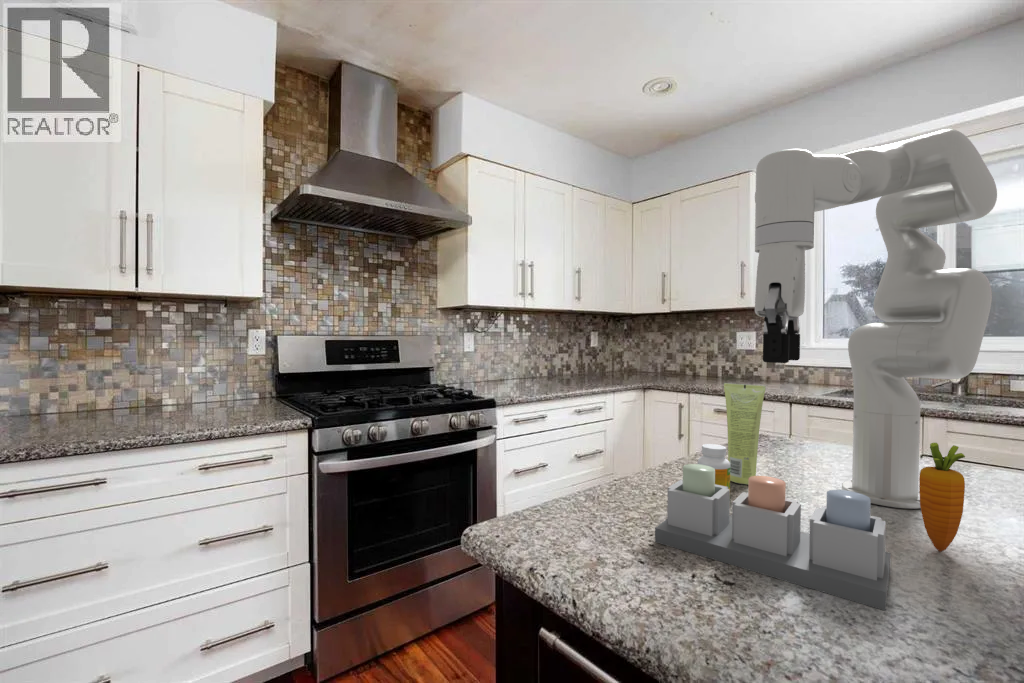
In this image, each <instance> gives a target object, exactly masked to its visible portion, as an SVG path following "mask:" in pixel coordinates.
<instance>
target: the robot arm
mask: <svg viewBox="0 0 1024 683" xmlns="http://www.w3.org/2000/svg"><path fill="white" fill-rule="evenodd" d="M878 198H879V199H878ZM997 198H998V189H997V185H996V182H995V178H994V177H993V176H992V173H991V172H990V170H989V167H988V166H987V165H986V163H985V161H984V160H983V158H982V156H981V154H980V152H979V151H978V149H977V148H976V146H975V145H974V144H973V142H972V141H971V140H970V139H969V138H968V137H967V136H966V135H965V134H964V133H962V132H961V131H959V130H957V129H953V128H948V129H947V128H946V129H941V130H938V131H935V132H931V133H928V134H923V135H920V136H916V137H912V138H910V139H906V140H901V141H898V142H894V143H889V144H884V145H881V146H874V147H869V148H862V149H861V148H860V149H858V150H854V151H850V152H846V153H843V154H840V155H839V154H837V155H836V154H813V153H812V152H811V151H809V150H807V149H802V148H790V149H782V150H778V151H775V152H771V153H769V154H767V155H765V156H763V157H762V158H761V159H760V160H759V161H758V163H757V164H756V169H755V192H754V203H755V209H754V210H755V215H754V216H755V219H754V220H755V224H754V226H755V227H754V229H755V230H754V252H755V253H757V254H758V259H757V266H756V268H757V269H756V280H755V297H754V313H755V315H756V316H758V317H761V318H762V317H763V321H764V322H763V323H764V324H763V335H762V362H764V363H770V364H771V363H772V364H773V363H774V364H787V363H789V362H790V361H799V360H800V359H801V358H800V357H801V333H800V328H801V327H800V320H799V318H800V317H801V316H802V315H804V311H805V302H806V300H805V298H806V251H808V250H811V249H814V247H815V244H814V243H815V212H821V211H826V210H830V209H835V208H839V207H843V206H849V205H855V204H857V203H862V202H868V201H870V200H874V199H878V201H877V203H876V207H875V215H876V222H877V225H878V228H879V231H880V234H881V237H882V240H883V241H884V245H885V247H886V252H887V258H886V262H885V265H884V268H883V271H882V275H881V277H880V281H879V283H878V287H877V290H876V292H875V296H874V299H873V311H874V314H875V316H876V317H877V319H879V320H881V322H880V321H879V322H872V323H867V324H864V325H860V326H859V327H857V328H855V330H854V331H852V332H851V334H850V336H849V338H848V343H847V351H848V356H849V361H850V362H849V363H850V367H851V372H852V373H851V375H852V384H853V414H852V415H853V419H852V420H853V423H852V424H853V426H852V463H851V464H852V469H851V470H852V471H851V472H852V475H851V480H850V479H849V480H845V481H844V482H842V483H841V490H846V491H852V492H856V493H860V494H863V495H866V496H868V497H869V498H870V499H871V504H873V505H877V506H878V505H879V506H883V507H888V508H894V509H895V508H897V509H906V510H907V509H909V510H910V509H912V510H913V509H915V510H916V509H921V507H920V491H919V477H920V448H921V447H920V441H921V437H920V435H921V403H920V399H919V395H917V393H916V392H915V390H914V389H913V387H912V386H911V385H910V383H909V382H908V381H907V380H906V379H905V378H921V379H935V380H938V379H939V380H960V379H962V378H965V377H967V376H969V374H971V373H972V371H973V370H974V368H975V366H976V364H977V361H978V358H979V354H980V351H981V347H982V343H983V338H984V334H985V332H986V327H987V324H988V320H989V317H990V312H991V307H992V300H993V298H992V297H993V294H992V290H993V289H992V286H991V282H990V280H989V279H988V277H987V276H986V275H985V273H984V272H982V271H980V270H978V269H975V268H974V269H973V268H967V267H966V268H965V267H964V268H963V267H959V268H957V267H956V268H947V269H945V268H944V267H945V263H946V260H947V259H946V252H945V250H944V249H943V248H942V247H941V245H940V244H938V243H937V241H935V240H934V239H932V238H931V237H930V236H928V235H926V234H925V233H923V232H922V230H921V229H922V228H923V229H925V228H929V227H937V226H943V225H944V226H945V225H951V224H957V223H963V222H970V221H971V222H972V221H975V220H978V219H981V218H984V217H985V216H987V215H988V214H990V212H992V210H993V209H994V207H995V205H996V203H997Z"/></svg>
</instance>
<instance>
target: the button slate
mask: <svg viewBox="0 0 1024 683" xmlns="http://www.w3.org/2000/svg"><path fill="white" fill-rule="evenodd" d="M871 504H872V503H871V499H870V498H869V497H868V496H866V495H863V494H860V493H856V492H852V491H846V490H842V489H829V490H827V491H826V523H831V524H835V525H840V526H845V527H849V528H854V529H858V530H863V531H867V532H870V516H871Z"/></svg>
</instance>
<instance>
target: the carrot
mask: <svg viewBox="0 0 1024 683" xmlns="http://www.w3.org/2000/svg"><path fill="white" fill-rule="evenodd" d="M929 446H930V447H929V449H930V452H931V453H930V454H931V456H932V460H933V462H934V465H935V466H924V467H922V468H921V469H920V470H919V491H920V507H921V508H920V512H921V516H922V520H923V525H924V529H925V530H926V533H927V536H928V539H929V540H930V541H931V544H932V545H933V547H934V549H936V551H938V552H940V553H941V552H945V551H946V550H947V549H948V547H949V546H950V545H951V544H952V543H953V541H954V539H955V538H956V535H957V534H958V531H959V528H960V524H961V520H962V517H963V513H964V503H965V489H966V481H965V476H964V475H963V474H962V473H961V472H959V471H957V470H954V469H951V467H952V466H953V465H954V463H955V462H957V461H958V460H959V459H963V458H966V456H965V454H964V453H962V452H959V453H957V451H958V450H959V446H957V445H952V446H951V447H950V449H949V450H948V453H947V456H943V455H942V452H941V451H940V450H941V449H940V448H939V443H938V442H932V443H930V444H929Z"/></svg>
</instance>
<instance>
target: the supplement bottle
mask: <svg viewBox="0 0 1024 683" xmlns="http://www.w3.org/2000/svg"><path fill="white" fill-rule="evenodd" d="M701 454H702V456H699V458H698V459H697V463H696V464H700V465H706V466H710V467H712V468H714V469H715V484H716V485H721V486H726V487H728V489H730V490H731V481H730V462H729V461H728V458H726V456H727V447H726V446H724V445H720V444H715V443H704V444H702V445H701Z"/></svg>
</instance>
